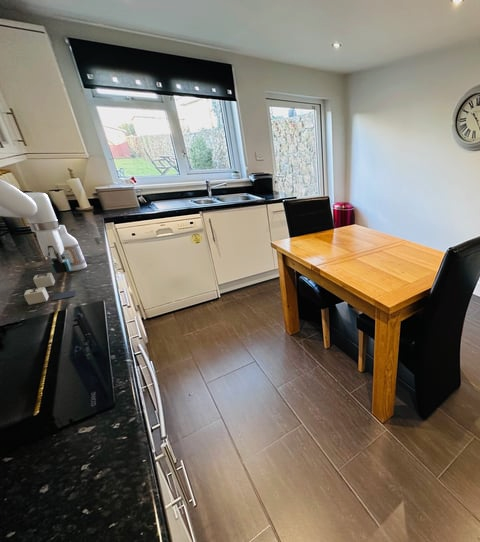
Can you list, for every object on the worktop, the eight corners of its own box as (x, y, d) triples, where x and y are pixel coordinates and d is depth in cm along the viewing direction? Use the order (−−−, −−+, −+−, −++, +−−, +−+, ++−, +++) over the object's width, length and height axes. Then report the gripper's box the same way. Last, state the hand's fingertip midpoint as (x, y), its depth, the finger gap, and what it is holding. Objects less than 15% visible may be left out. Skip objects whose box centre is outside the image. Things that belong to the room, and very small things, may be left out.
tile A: (37, 288, 110) (32, 278, 108) (39, 284, 113) (35, 274, 111) (53, 285, 112) (49, 276, 111) (55, 281, 115) (51, 272, 114)
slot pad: (51, 301, 101) (51, 300, 101) (54, 294, 105) (53, 294, 105) (74, 296, 105) (74, 295, 105) (76, 290, 109) (75, 289, 109)
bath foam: (62, 272, 124) (43, 228, 116) (73, 266, 130) (55, 224, 122) (81, 271, 125) (63, 227, 118) (90, 265, 132) (74, 223, 124)
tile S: (54, 273, 111) (50, 263, 109) (56, 270, 114) (52, 260, 113) (70, 271, 114) (66, 261, 112) (71, 267, 117) (67, 258, 115)
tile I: (28, 305, 98) (23, 294, 97) (31, 299, 101) (26, 289, 100) (47, 301, 101) (42, 291, 99) (49, 296, 104) (44, 286, 102)
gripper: (35, 223, 111) (53, 266, 118) (25, 232, 99) (46, 279, 106) (61, 221, 115) (77, 262, 122) (55, 229, 103) (73, 274, 110)
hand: (62, 269), depth 114 cm, fingers closed on tile S, 4 cm apart
